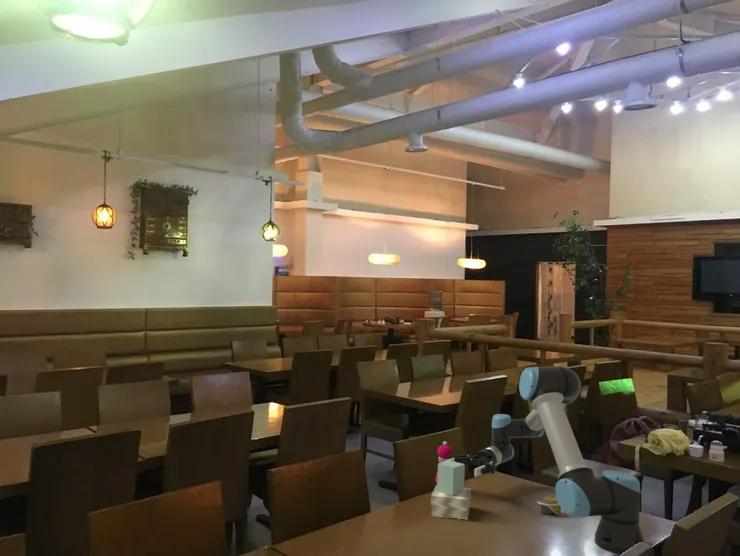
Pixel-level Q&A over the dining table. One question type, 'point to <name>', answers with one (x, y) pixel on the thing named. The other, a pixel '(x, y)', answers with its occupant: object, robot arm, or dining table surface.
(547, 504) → the platform
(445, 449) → the pepper mill
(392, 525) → the dining table surface
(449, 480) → the sage block
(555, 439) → the robot arm
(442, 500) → the top block
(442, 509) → the bottom block
